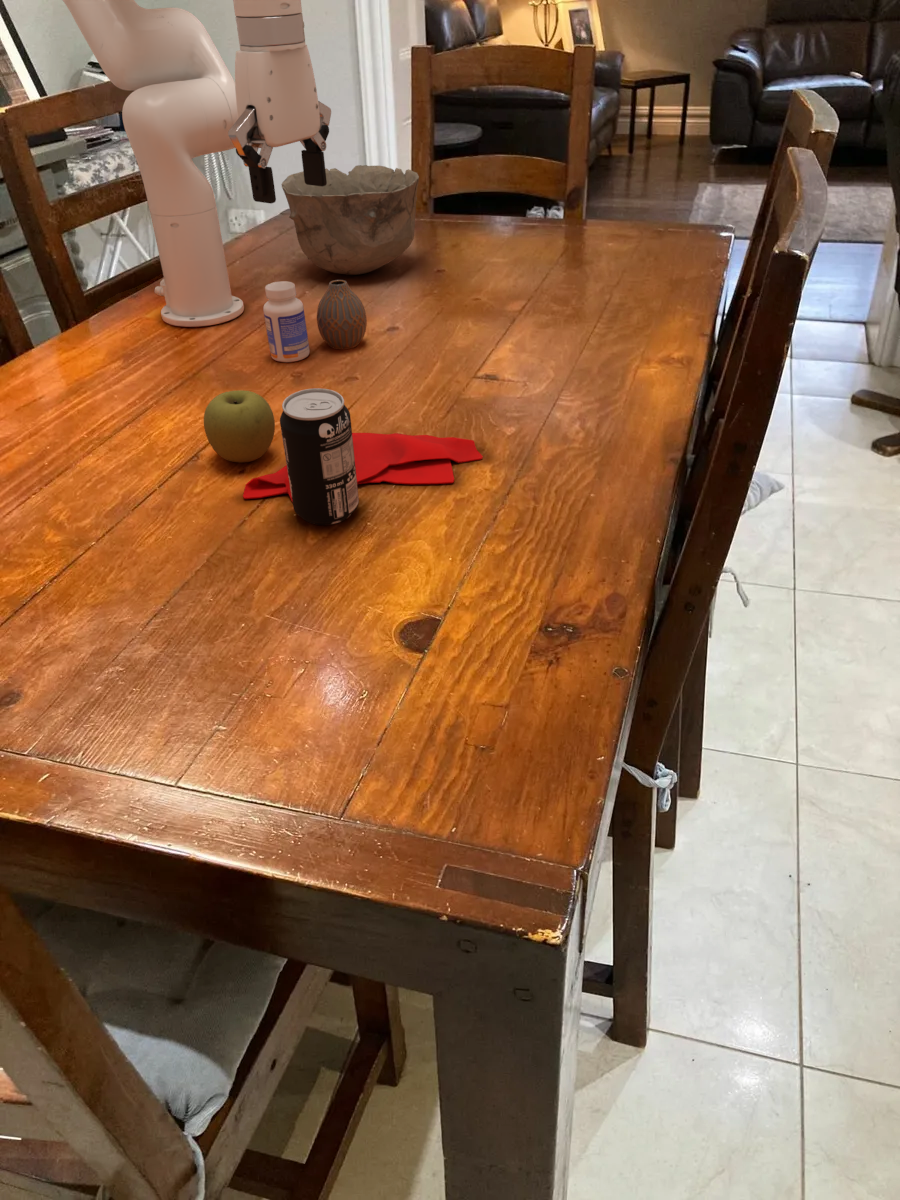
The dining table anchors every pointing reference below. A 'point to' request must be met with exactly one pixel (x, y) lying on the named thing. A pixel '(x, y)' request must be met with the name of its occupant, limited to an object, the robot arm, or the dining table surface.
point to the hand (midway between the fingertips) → (291, 193)
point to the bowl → (354, 217)
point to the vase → (341, 316)
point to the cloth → (387, 462)
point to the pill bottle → (285, 323)
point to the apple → (239, 425)
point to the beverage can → (319, 455)
